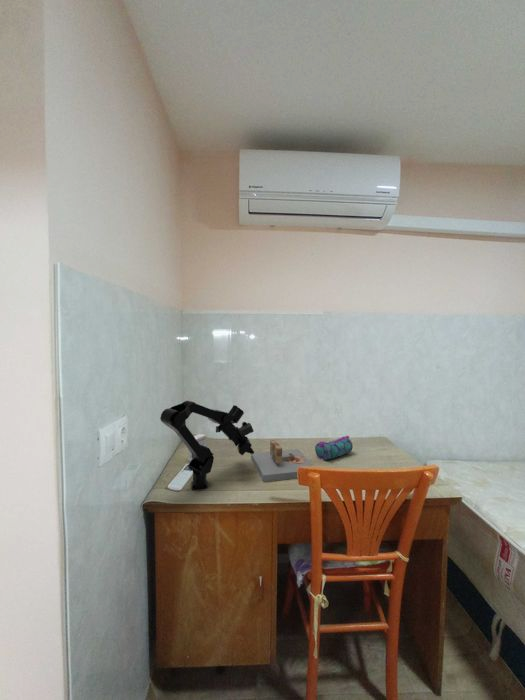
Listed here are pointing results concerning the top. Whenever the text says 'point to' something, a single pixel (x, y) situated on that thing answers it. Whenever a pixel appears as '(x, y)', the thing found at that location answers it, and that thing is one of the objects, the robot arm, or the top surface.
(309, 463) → the deck
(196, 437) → the ink box
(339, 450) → the pencil case
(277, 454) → the plunger
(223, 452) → the top surface
